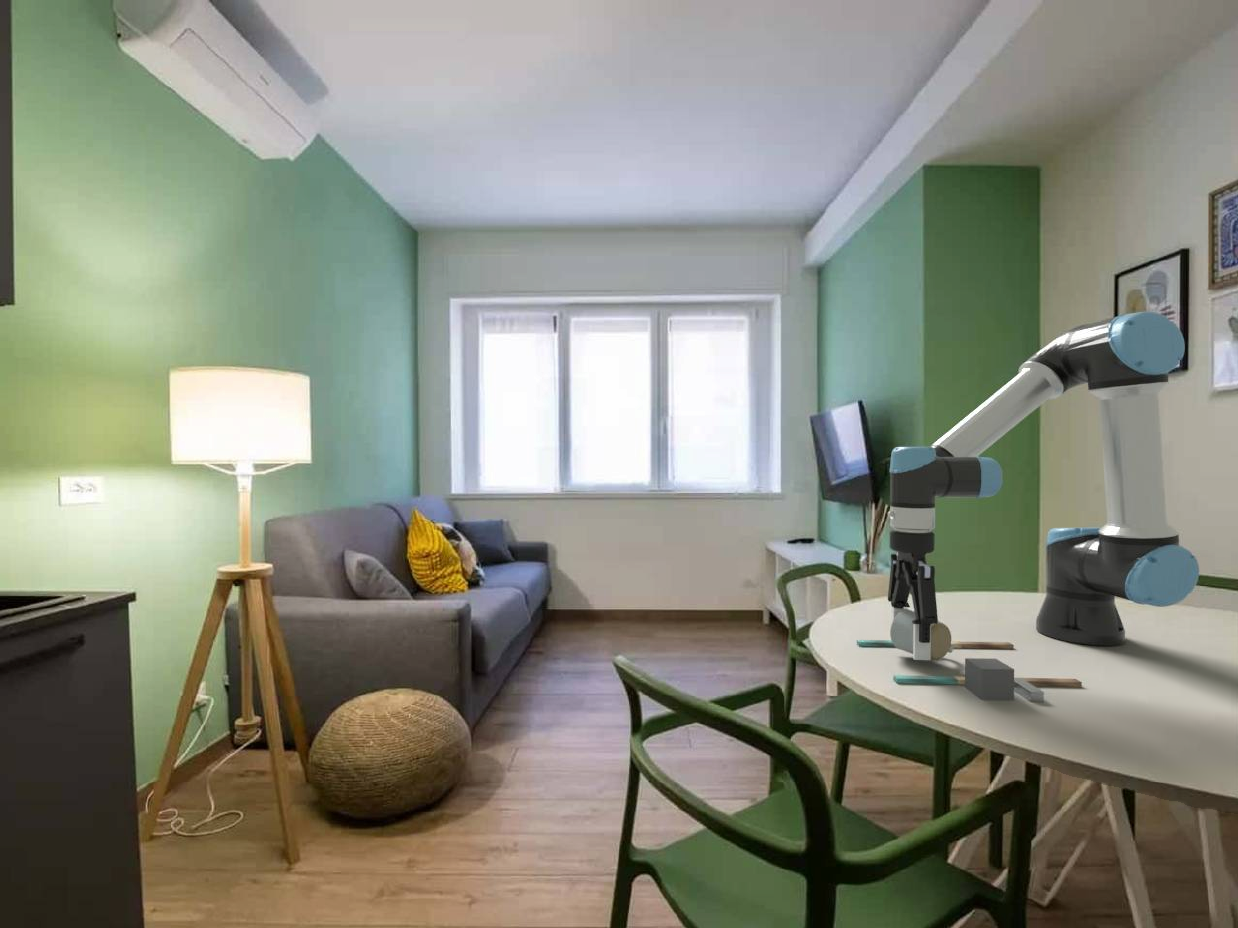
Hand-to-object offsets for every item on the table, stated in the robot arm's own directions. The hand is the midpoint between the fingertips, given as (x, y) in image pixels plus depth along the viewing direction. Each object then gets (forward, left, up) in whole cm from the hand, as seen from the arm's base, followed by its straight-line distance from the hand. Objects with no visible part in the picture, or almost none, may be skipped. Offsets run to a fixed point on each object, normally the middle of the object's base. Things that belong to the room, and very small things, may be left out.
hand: (910, 650), depth 114 cm
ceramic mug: (-3, -1, -1) cm, 4 cm away
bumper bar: (-13, +14, -2) cm, 19 cm away
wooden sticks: (-9, 0, -2) cm, 9 cm away
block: (-9, +14, 0) cm, 17 cm away
